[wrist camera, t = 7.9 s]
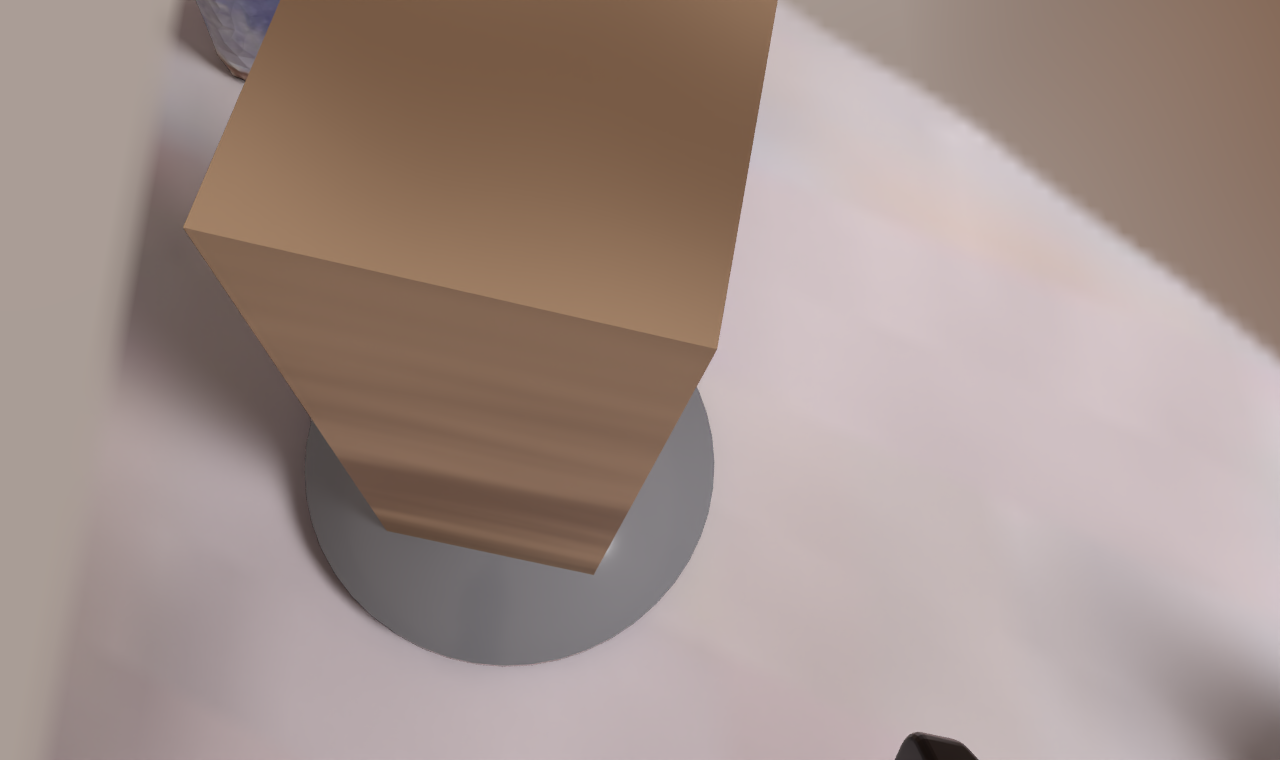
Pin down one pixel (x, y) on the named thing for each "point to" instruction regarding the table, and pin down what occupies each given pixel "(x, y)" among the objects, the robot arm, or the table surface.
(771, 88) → the table surface
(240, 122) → the walnut block
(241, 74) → the flask
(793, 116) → the table surface
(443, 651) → the slate coaster
